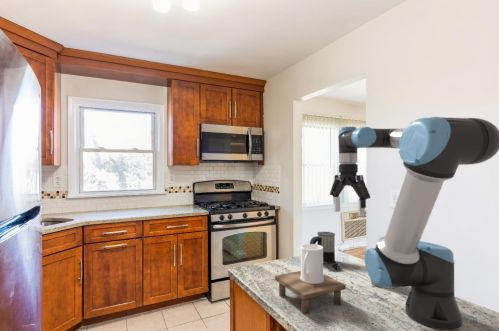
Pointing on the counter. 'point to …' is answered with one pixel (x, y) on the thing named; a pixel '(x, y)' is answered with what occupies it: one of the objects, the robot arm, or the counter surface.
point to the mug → (312, 264)
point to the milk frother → (326, 247)
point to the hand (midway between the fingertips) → (348, 213)
